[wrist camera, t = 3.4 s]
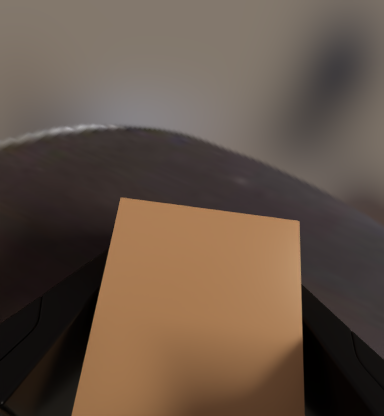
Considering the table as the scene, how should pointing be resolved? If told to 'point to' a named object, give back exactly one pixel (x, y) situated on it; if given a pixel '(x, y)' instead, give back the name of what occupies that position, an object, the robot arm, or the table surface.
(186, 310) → the plug
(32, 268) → the table surface
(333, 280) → the table surface
